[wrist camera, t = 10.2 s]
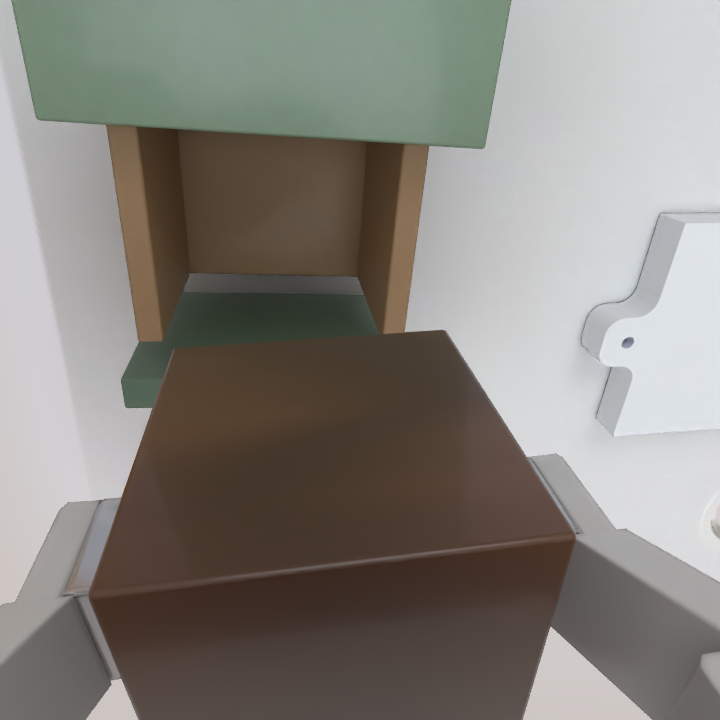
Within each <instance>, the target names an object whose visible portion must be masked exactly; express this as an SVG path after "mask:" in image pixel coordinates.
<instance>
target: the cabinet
mask: <svg viewBox="0 0 720 720" xmlns="http://www.w3.org/2000/svg"><path fill="white" fill-rule="evenodd" d="M11 1H12V5H13V10H14V15H15V20H16V24H17V29H18V34H19V39H20V44H21V48H22V53H23V58H24V63H25V68H26V72H27V77H28V82H29V87H30V91H31V96H32V101H33V106H34V111H35V115H36V118H37V119H38V120H41V121H56V122H72V123H87V124H103V125H118V126H134V127H149V128H165V129H180V130H195V131H211V132H226V133H242V134H257V135H273V136H288V137H304V138H319V139H335V140H350V141H366V142H381V143H396V144H412V145H427V146H443V147H458V148H474V149H483V148H484V147H485V143H486V138H487V132H488V126H489V121H490V115H491V110H492V104H493V99H494V93H495V88H496V82H497V77H498V71H499V66H500V60H501V55H502V49H503V44H504V38H505V33H506V27H507V22H508V16H509V10H510V5H511V0H11Z"/></svg>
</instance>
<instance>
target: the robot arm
mask: <svg viewBox="0 0 720 720" xmlns="http://www.w3.org/2000/svg"><path fill="white" fill-rule="evenodd" d="M527 458H528V460H529V461H530V463H531V465H532V466H533V468H534V469H535V471H536V472H537V474H538V476H539V477H540V479H541V480H542V482H543V483H544V485H545V486H546V488H547V490H548V491H549V493H550V494H551V496H552V497H553V499H554V501H555V502H556V504H557V505H558V507H559V508H560V510H561V511H562V513H563V515H564V516H565V518H566V519H567V521H568V522H569V524H570V526H571V527H572V529H573V530H574V532H575V535H576V542H575V545H574V549H573V552H572V555H571V559H570V562H569V565H568V569H567V572H566V575H565V579H564V582H563V586H562V589H561V592H560V596H559V599H558V602H557V606H556V609H555V612H554V616H553V619H552V622H551V627H552V628H553V629H555V630H556V631H557V632H558V633H559V634H560V635H561V636H562V637H563V638H564V639H565V640H566V641H567V642H569V643H570V644H571V645H572V646H573V647H574V648H575V649H576V650H577V651H578V652H579V653H581V654H582V655H583V656H584V657H585V658H586V659H587V660H588V661H589V662H590V663H591V664H593V665H594V666H595V667H596V668H597V669H598V670H599V671H600V672H601V673H602V674H603V675H604V676H606V677H607V678H608V679H609V680H610V681H611V682H612V683H613V684H614V685H616V686H617V687H618V688H619V689H620V690H621V691H622V692H623V693H624V694H625V695H626V696H627V697H628V698H629V699H631V700H632V701H633V702H634V703H635V704H636V705H637V706H638V707H639V708H640V709H641V710H643V711H644V712H645V713H646V714H647V715H648V716H649V717H650V718H651V719H652V720H720V582H718V581H717V580H715V579H713V578H711V577H710V576H708V575H706V574H704V573H703V572H701V571H699V570H697V569H696V568H694V567H692V566H690V565H689V564H687V563H685V562H683V561H681V560H680V559H678V558H676V557H674V556H673V555H671V554H669V553H667V552H666V551H664V550H662V549H660V548H659V547H657V546H655V545H653V544H652V543H650V542H648V541H646V540H645V539H643V538H641V537H639V536H638V535H636V534H634V533H632V532H631V531H629V530H627V529H618V530H616V529H615V527H614V526H613V525H612V523H611V522H610V520H609V519H608V518H607V516H606V515H605V514H604V512H603V511H602V510H601V508H600V507H599V506H598V504H597V503H596V502H595V500H594V499H593V498H592V496H591V495H590V493H589V492H588V491H587V489H586V488H585V487H584V485H583V484H582V483H581V481H580V480H579V479H578V477H577V476H576V475H575V473H574V472H573V471H572V469H571V468H570V467H569V465H568V464H567V462H566V461H565V460H564V458H563V457H561V456H559V455H558V454H550V455H541V456H532V457H527ZM120 501H121V498H111V499H104V500H97V501H84V502H83V501H82V502H68V503H67V504H66V505H65V506H64V507H62V508H61V509H60V510H59V512H58V514H57V516H56V518H55V520H54V522H53V525H52V526H51V529H50V531H49V533H48V535H47V537H46V539H45V541H44V543H43V545H42V547H41V549H40V551H39V553H38V555H37V558H36V560H35V562H34V564H33V566H32V568H31V570H30V572H29V574H28V576H27V578H26V580H25V582H24V584H23V587H22V589H21V591H20V593H19V595H18V597H17V599H16V601H15V602H13V603H6V604H2V605H1V606H0V720H86V718H87V717H88V716H89V714H90V713H91V711H92V710H93V709H94V707H95V706H96V705H97V703H98V702H99V701H100V699H101V698H102V697H103V695H104V694H105V692H106V691H107V690H108V688H109V687H110V686H111V680H116V679H121V676H120V674H119V671H118V669H117V667H116V664H115V662H114V659H113V657H112V655H111V652H110V650H109V647H108V645H107V643H106V640H105V638H104V635H103V633H102V630H101V628H100V626H99V623H98V621H97V618H96V616H95V614H94V611H93V609H92V606H91V604H90V602H89V598H88V593H89V590H90V587H91V584H92V581H93V578H94V575H95V572H96V570H97V567H98V564H99V561H100V558H101V555H102V552H103V549H104V547H105V544H106V541H107V538H108V535H109V532H110V529H111V526H112V524H113V521H114V518H115V515H116V512H117V509H118V506H119V503H120Z"/></svg>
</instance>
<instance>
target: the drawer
mask: <svg viewBox="0 0 720 720" xmlns="http://www.w3.org/2000/svg"><path fill="white" fill-rule="evenodd" d="M106 127H107V134H108V140H109V147H110V154H111V160H112V167H113V174H114V180H115V187H116V194H117V200H118V207H119V214H120V221H121V227H122V234H123V241H124V247H125V254H126V261H127V267H128V274H129V281H130V287H131V294H132V301H133V307H134V314H135V321H136V328H137V334H138V340H139V343H138V345H137V347H136V349H135V351H134V353H133V355H132V358H131V360H130V362H129V364H128V366H127V368H126V370H125V372H124V374H123V376H122V378H121V385H122V390H123V396H124V402H125V407H126V408H153V406H154V403H155V400H156V397H157V394H158V391H159V389H160V386H161V383H162V380H163V377H164V374H165V371H166V368H167V366H168V363H169V360H170V357H171V354H172V351H173V349H175V348H183V347H198V346H213V345H228V344H242V343H257V342H272V341H286V340H301V339H316V338H330V337H345V336H360V335H374V334H389V333H404V332H405V324H406V317H407V309H408V302H409V294H410V286H411V279H412V271H413V264H414V256H415V248H416V241H417V233H418V226H419V218H420V211H421V203H422V195H423V188H424V180H425V173H426V165H427V157H428V150H429V146H427V145H412V144H396V143H381V142H366V141H350V140H335V139H319V138H304V137H288V136H273V135H257V134H242V133H226V132H211V131H195V130H180V129H165V128H149V127H134V126H118V125H106ZM190 273H213V274H258V275H304V276H350V277H358V280H359V282H360V285H361V287H362V290H363V293H364V295H321V294H259V293H196V292H183V289H184V287H185V284H186V282H187V279H188V277H189V274H190Z"/></svg>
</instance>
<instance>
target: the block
mask: <svg viewBox="0 0 720 720" xmlns="http://www.w3.org/2000/svg"><path fill="white" fill-rule="evenodd" d="M575 542H576V535H575V532H574V530H573V529H572V527H571V526H570V524H569V522H568V521H567V519H566V518H565V516H564V515H563V513H562V511H561V510H560V508H559V507H558V505H557V504H556V502H555V501H554V499H553V497H552V496H551V494H550V493H549V491H548V490H547V488H546V486H545V485H544V483H543V482H542V480H541V479H540V477H539V476H538V474H537V472H536V471H535V469H534V468H533V466H532V465H531V463H530V461H529V460H528V458H527V457H526V455H525V454H524V452H523V451H522V449H521V447H520V446H519V444H518V443H517V441H516V440H515V438H514V436H513V435H512V433H511V432H510V430H509V429H508V427H507V426H506V424H505V422H504V421H503V419H502V418H501V416H500V415H499V413H498V411H497V410H496V408H495V407H494V405H493V404H492V402H491V401H490V399H489V397H488V396H487V394H486V393H485V391H484V390H483V388H482V386H481V385H480V383H479V382H478V380H477V379H476V377H475V375H474V374H473V372H472V371H471V369H470V368H469V366H468V365H467V363H466V361H465V360H464V358H463V357H462V355H461V354H460V352H459V350H458V349H457V347H456V346H455V344H454V343H453V341H452V340H451V338H450V336H449V335H448V333H447V332H446V331H445V330H433V331H419V332H404V333H389V334H374V335H360V336H345V337H330V338H316V339H301V340H286V341H272V342H257V343H242V344H228V345H213V346H198V347H183V348H175V349H173V351H172V354H171V357H170V360H169V363H168V366H167V368H166V371H165V374H164V377H163V380H162V383H161V386H160V389H159V391H158V394H157V397H156V400H155V403H154V406H153V409H152V412H151V414H150V417H149V420H148V423H147V426H146V429H145V432H144V435H143V437H142V440H141V443H140V446H139V449H138V452H137V455H136V458H135V460H134V463H133V466H132V469H131V472H130V475H129V478H128V481H127V483H126V486H125V489H124V492H123V495H122V498H121V501H120V503H119V506H118V509H117V512H116V515H115V518H114V521H113V524H112V526H111V529H110V532H109V535H108V538H107V541H106V544H105V547H104V549H103V552H102V555H101V558H100V561H99V564H98V567H97V570H96V572H95V575H94V578H93V581H92V584H91V587H90V590H89V593H88V598H89V602H90V604H91V606H92V609H93V611H94V614H95V616H96V618H97V621H98V623H99V626H100V628H101V630H102V633H103V635H104V638H105V640H106V643H107V645H108V647H109V650H110V652H111V655H112V657H113V659H114V662H115V664H116V667H117V669H118V671H119V674H120V676H121V679H122V681H123V683H124V686H125V688H126V691H127V693H128V695H129V698H130V700H131V703H132V705H133V708H134V710H135V712H136V715H137V717H138V719H139V720H523V716H524V713H525V709H526V706H527V703H528V700H529V696H530V693H531V689H532V686H533V683H534V679H535V676H536V673H537V669H538V666H539V663H540V659H541V656H542V653H543V649H544V646H545V643H546V639H547V636H548V632H549V629H550V626H551V622H552V619H553V616H554V612H555V609H556V606H557V602H558V599H559V596H560V592H561V589H562V586H563V582H564V579H565V575H566V572H567V569H568V565H569V562H570V559H571V555H572V552H573V549H574V545H575Z"/></svg>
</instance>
